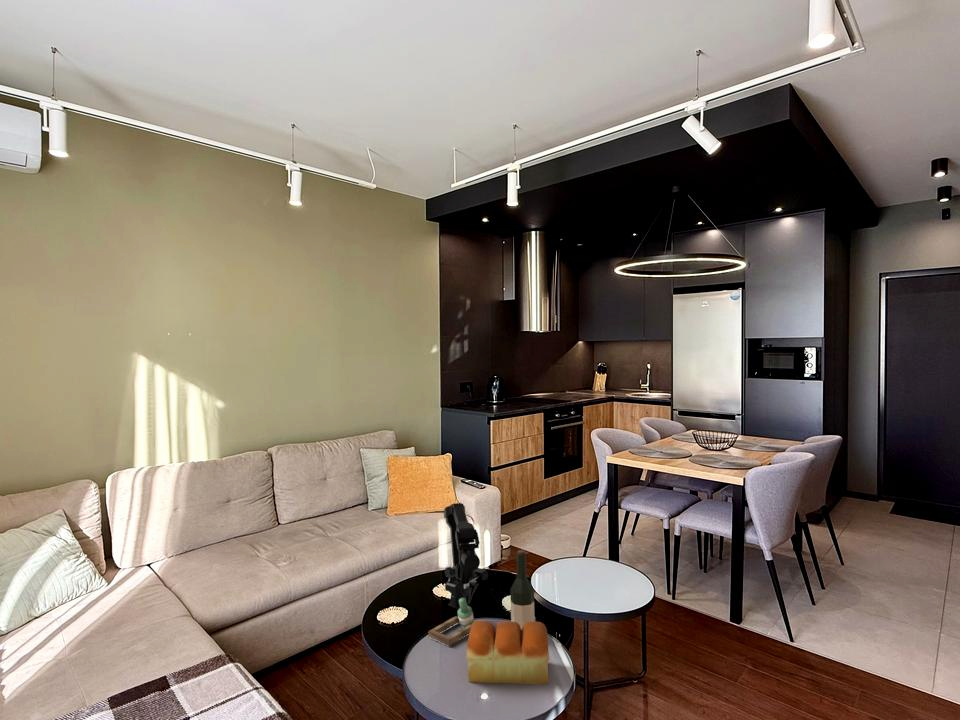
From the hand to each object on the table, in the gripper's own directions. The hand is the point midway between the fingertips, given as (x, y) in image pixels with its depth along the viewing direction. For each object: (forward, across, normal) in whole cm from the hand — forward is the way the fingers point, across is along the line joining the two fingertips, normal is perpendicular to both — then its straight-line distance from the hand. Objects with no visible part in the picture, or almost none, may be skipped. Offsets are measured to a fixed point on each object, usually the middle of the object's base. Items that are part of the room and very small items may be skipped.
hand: (467, 603), depth 196 cm
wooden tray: (+8, +8, 0) cm, 11 cm away
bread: (+9, +15, +30) cm, 35 cm away
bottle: (+7, 0, 0) cm, 7 cm away
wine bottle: (+8, -6, +21) cm, 23 cm away
